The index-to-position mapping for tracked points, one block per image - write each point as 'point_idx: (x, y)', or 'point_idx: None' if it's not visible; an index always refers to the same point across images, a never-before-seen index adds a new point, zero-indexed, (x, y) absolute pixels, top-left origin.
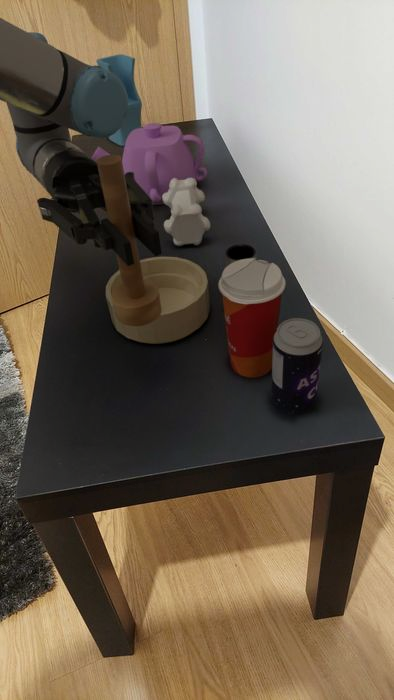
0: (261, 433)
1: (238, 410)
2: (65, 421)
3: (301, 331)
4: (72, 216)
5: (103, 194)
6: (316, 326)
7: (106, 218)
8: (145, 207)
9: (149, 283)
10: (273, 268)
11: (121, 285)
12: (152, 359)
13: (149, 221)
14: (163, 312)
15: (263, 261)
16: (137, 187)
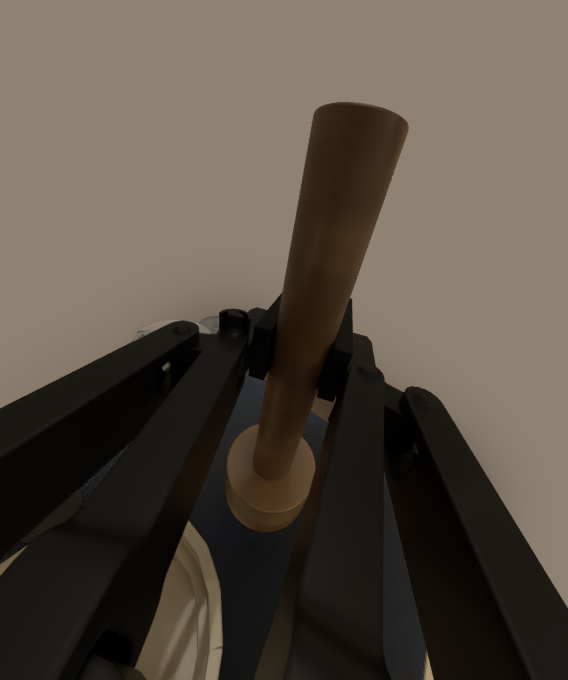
0: (256, 390)
1: (247, 411)
2: (389, 553)
3: (215, 324)
4: (440, 448)
5: (361, 264)
6: (205, 318)
7: (335, 347)
8: (202, 336)
9: (234, 459)
10: (153, 327)
11: (271, 507)
12: (236, 548)
13: (257, 312)
14: (187, 531)
15: (138, 336)
16: (43, 398)
